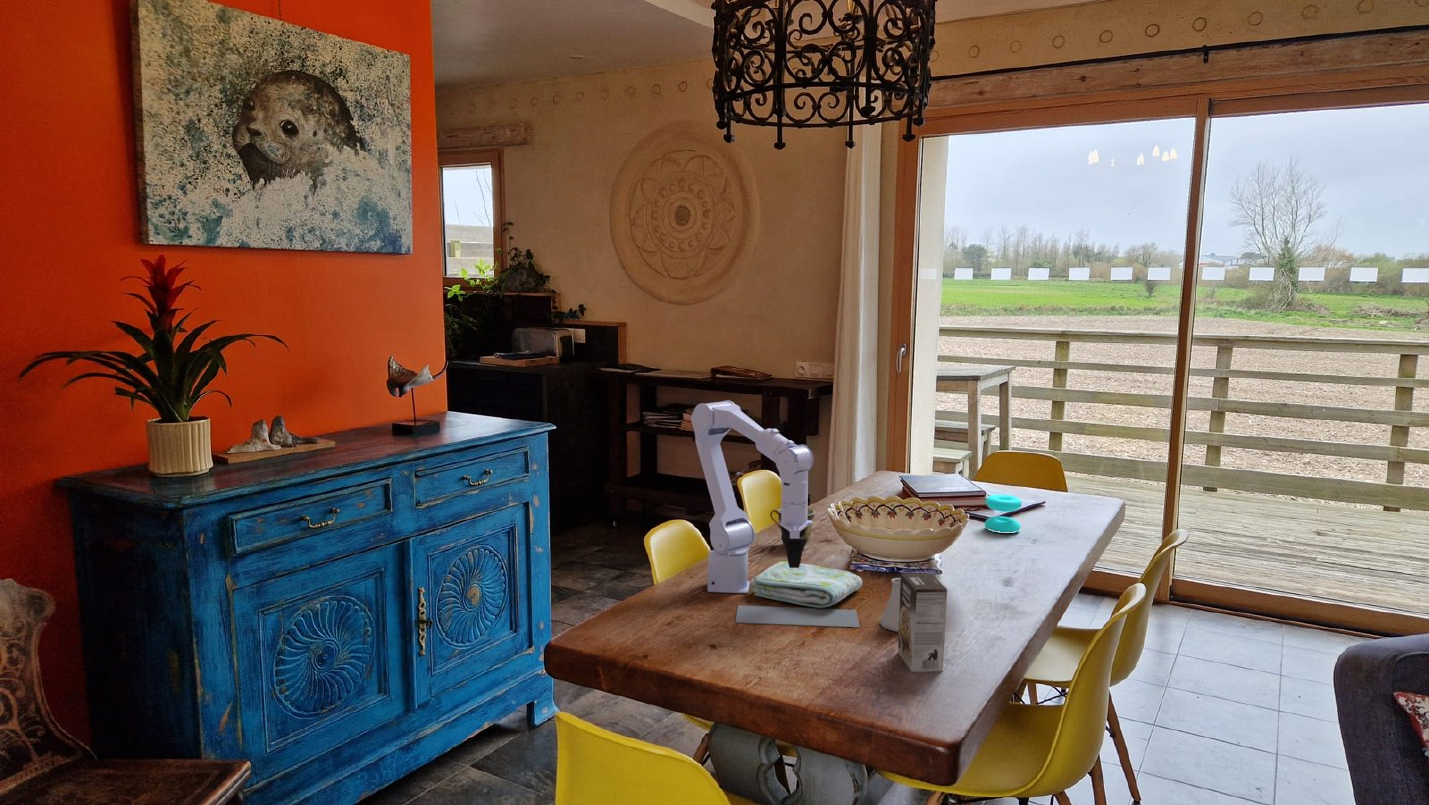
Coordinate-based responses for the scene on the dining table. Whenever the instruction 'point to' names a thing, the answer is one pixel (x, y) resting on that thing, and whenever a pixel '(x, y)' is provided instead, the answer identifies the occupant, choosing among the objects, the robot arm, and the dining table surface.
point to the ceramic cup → (808, 530)
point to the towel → (805, 584)
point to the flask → (892, 608)
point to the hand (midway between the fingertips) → (793, 562)
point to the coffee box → (922, 622)
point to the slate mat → (797, 616)
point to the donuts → (1005, 505)
